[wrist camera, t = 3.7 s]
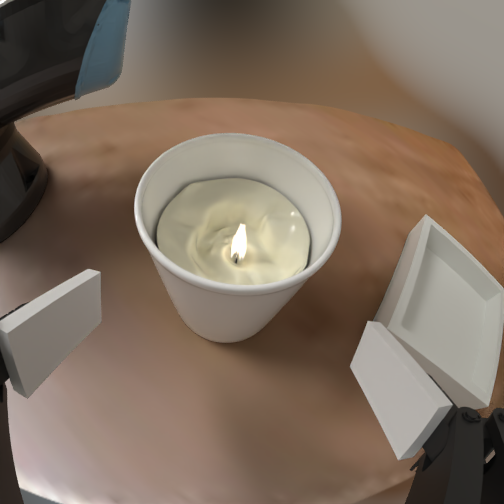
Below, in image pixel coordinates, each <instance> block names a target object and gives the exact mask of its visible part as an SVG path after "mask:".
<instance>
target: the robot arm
mask: <svg viewBox="0 0 504 504" xmlns="http://www.w3.org/2000/svg"><path fill="white" fill-rule="evenodd" d="M130 5H131V0H0V242H1V241H3V240H5V239H6V238H7V237H9V236H10V235H11V234H12V233H13V232H14V231H16V230H17V229H18V228H19V227H20V226H21V225H22V224H23V222H24V221H25V220H26V219H27V218H28V217H29V215H30V214H31V213H32V211H33V210H34V209H35V207H36V205H37V204H38V202H39V200H40V199H41V197H42V195H43V192H44V190H45V187H46V184H47V179H48V173H47V169H46V167H45V164H44V162H43V160H42V157H41V156H40V154H39V153H38V152H37V151H36V150H35V149H34V148H33V147H32V146H31V145H30V144H29V143H28V142H27V140H26V139H25V138H24V137H23V136H22V135H21V134H20V133H19V132H18V131H17V129H16V127H15V124H14V121H16V120H18V119H21V118H23V117H26V116H28V115H30V114H33V113H35V112H38V111H40V110H42V109H45V108H48V107H51V106H54V105H57V104H60V103H63V102H65V101H69V100H72V99H75V100H77V99H79V98H80V97H81V96H83V95H86V94H89V93H92V92H95V91H98V90H101V89H105V88H108V87H110V86H111V85H112V84H114V83H115V82H116V81H117V79H118V78H119V77H120V75H121V72H122V67H123V58H124V49H125V40H126V32H127V25H128V18H129V11H130ZM101 322H102V321H101V272H99V271H95V270H92V269H87V270H85V271H83V272H81V273H80V274H78V275H76V276H74V277H72V278H71V279H69V280H67V281H65V282H63V283H62V284H60V285H58V286H56V287H55V288H53V289H51V290H50V291H48V292H46V293H44V294H43V295H41V296H39V297H38V298H36V299H34V300H33V301H31V302H28V303H25V304H22V305H20V306H19V307H17V308H16V309H15V310H12V311H11V312H9V313H8V314H6V315H4V316H3V317H1V318H0V504H24V503H23V500H22V496H21V493H20V488H19V484H18V480H17V476H16V471H15V466H14V461H13V455H12V449H11V442H10V434H9V423H8V408H7V388H6V385H5V381H6V380H8V379H9V378H10V381H11V384H12V386H13V389H14V390H15V391H16V392H18V393H19V394H21V395H22V396H24V397H26V398H27V399H28V398H29V397H30V396H31V395H32V394H33V392H34V391H35V390H36V389H37V388H38V387H39V386H40V385H41V384H42V383H43V381H44V380H45V379H46V378H47V377H48V376H49V375H50V374H51V373H52V372H53V371H54V370H55V369H56V368H57V367H58V365H59V364H60V363H61V362H62V361H63V360H64V359H65V358H66V357H67V356H68V355H69V354H70V353H71V352H72V351H73V350H74V349H75V348H76V347H77V346H78V345H79V344H80V343H81V342H82V341H83V340H84V339H85V338H86V337H87V336H88V335H89V334H90V333H91V332H92V331H93V330H94V329H95V328H96V327H97V326H98V325H99V324H100V323H101ZM350 368H351V370H352V371H353V373H354V375H355V377H356V379H357V381H358V383H359V385H360V386H361V388H362V390H363V392H364V394H365V396H366V398H367V400H368V402H369V403H370V405H371V407H372V409H373V411H374V413H375V415H376V417H377V419H378V421H379V423H380V425H381V427H382V429H383V431H384V433H385V435H386V437H387V439H388V440H389V442H390V444H391V446H392V449H393V451H394V453H395V455H396V457H397V459H398V460H402V459H407V458H411V457H414V456H415V454H416V453H417V452H418V451H419V450H420V449H421V447H423V448H424V450H425V453H424V454H423V455H422V456H421V457H420V458H419V460H418V461H417V462H416V463H415V464H414V465H413V466H412V467H411V469H410V470H411V471H412V470H413V469H414V468H415V467H417V466H418V468H417V470H416V471H415V472H416V474H415V478H414V480H413V483H412V486H411V489H410V492H409V494H408V497H407V500H406V502H405V504H504V409H502V408H496V409H494V410H493V412H492V413H491V415H490V416H489V418H481V416H480V414H479V413H478V412H477V411H475V410H474V409H472V408H470V407H460V408H458V407H457V406H456V404H455V403H454V402H453V401H452V400H451V399H450V397H449V396H448V395H447V394H446V393H445V391H444V390H442V388H441V387H440V386H439V384H438V385H437V382H436V381H435V380H434V379H433V378H432V376H430V375H429V374H427V373H426V372H425V371H424V370H423V369H422V368H421V367H420V365H419V364H418V363H417V362H416V361H415V360H414V359H413V357H412V356H411V355H410V354H409V353H408V352H407V351H406V350H405V349H404V347H403V346H402V345H401V344H400V343H399V342H398V341H397V340H396V339H395V338H394V337H393V335H392V334H391V333H390V332H389V331H388V330H387V329H386V328H385V327H384V326H383V325H382V324H381V323H380V322H373V321H368V322H367V324H366V327H365V330H364V332H363V335H362V338H361V340H360V343H359V345H358V348H357V350H356V353H355V355H354V358H353V360H352V362H351V365H350ZM493 450H494V451H495V455H494V457H493V458H492V459H491V460H490V461H489V462H488V463H486V461H485V459H486V458H487V457H488V455H489V454H490V453H491V452H492V451H493Z"/></svg>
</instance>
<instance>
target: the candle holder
mask: <svg viewBox="0 0 504 504" xmlns="http://www.w3.org/2000/svg"><path fill="white" fill-rule="evenodd" d="M134 214H135V221H136V225H137V229H138V232H139V234H140V237H141V239H142V241H143V243H144V244H145V246H146V248H147V249H148V251H149V253H150V256H151V258H152V260H153V262H154V265H155V267H156V269H157V271H158V273H159V276H160V278H161V280H162V282H163V284H164V286H165V288H166V290H167V293H168V295H169V297H170V299H171V301H172V303H173V305H174V307H175V309H176V310H177V312H178V314H179V316H180V317H181V319H182V320H183V322H184V323H185V324H186V325H187V326H188V327H189V328H190V329H191V330H192V331H193V332H195V333H196V334H197V335H199V336H201V337H203V338H205V339H208V340H211V341H215V342H221V343H232V342H238V341H242V340H245V339H247V338H250V337H251V336H253V335H255V334H256V333H258V332H259V331H260V330H262V329H263V328H264V327H265V326H266V325H267V324H268V323H269V322H270V321H271V320H272V319H273V318H274V317H275V316H276V315H277V313H278V312H279V311H280V310H281V309H282V308H283V307H284V306H285V305H286V304H287V303H288V302H289V300H290V299H291V298H292V297H293V296H294V295H295V294H296V293H297V292H298V291H299V289H300V288H301V287H302V286H303V285H304V284H305V283H306V282H307V280H308V279H309V278H310V277H311V276H312V275H313V274H314V273H316V272H317V271H318V270H319V269H320V268H321V267H322V266H323V265H324V264H325V263H326V261H327V260H328V259H329V257H330V256H331V254H332V253H333V251H334V249H335V247H336V245H337V242H338V240H339V236H340V232H341V224H342V217H341V209H340V204H339V201H338V198H337V195H336V193H335V191H334V189H333V187H332V185H331V184H330V182H329V181H328V179H327V178H326V176H325V175H324V174H323V173H322V172H321V171H320V170H319V168H318V167H316V166H315V165H314V164H313V163H312V162H311V161H310V160H308V159H307V158H306V157H304V156H303V155H302V154H300V153H298V152H297V151H295V150H293V149H292V148H290V147H288V146H286V145H283V144H281V143H279V142H276V141H273V140H270V139H267V138H263V137H259V136H254V135H248V134H239V133H220V134H211V135H205V136H201V137H197V138H193V139H190V140H187V141H185V142H182V143H180V144H178V145H176V146H174V147H172V148H171V149H169V150H167V151H166V152H165V153H163V154H162V155H161V156H159V157H158V158H157V159H156V160H155V161H154V162H153V163H152V164H151V165H150V166H149V168H148V169H147V170H146V172H145V173H144V175H143V177H142V178H141V180H140V183H139V185H138V188H137V191H136V195H135V201H134Z"/></svg>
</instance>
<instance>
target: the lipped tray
mask: <svg viewBox="0 0 504 504" xmlns="http://www.w3.org/2000/svg"><path fill="white" fill-rule="evenodd" d="M373 322H380V323H381V324H382V325H383V326H384V327H385V328H386V329H387V330H388V331H389V332H390V333H391V334H392V335H393V337H394V338H395V339H396V340H397V341H398V342H399V343H400V344H401V345H402V346H403V347H404V349H405V350H406V351H407V352H408V353H409V354H410V355H411V356H412V357H413V359H414V360H415V361H416V362H417V363H418V364H419V365H420V367H421V368H422V369H423V370H424V371H425V372H426V373H427V374H429V375H430V376H432V378H433V379H434V380H435V381H436V382H437V385H438V384H439V386H440V387H441V388H442V390H444V391H445V393H446V394H447V395H448V396H449V397H450V399H451V400H452V401H453V402H454V403H455V404H456V406H457V407H458V408H460V407H470V408H472V409H474V410H476V409H480V408H485V407H488V406H489V403H490V399H491V395H492V391H493V387H494V382H495V378H496V373H497V368H498V362H499V356H500V349H501V342H502V334H503V323H504V288H503V287H502V286H501V285H500V284H499V283H498V281H497V280H496V279H495V278H494V277H493V276H492V275H491V274H490V273H489V272H488V271H487V270H486V269H485V268H484V267H483V266H482V265H481V264H480V263H479V262H478V261H477V260H476V259H475V258H474V257H473V256H472V255H471V254H470V253H469V252H468V251H467V250H466V249H465V248H464V247H463V246H462V245H461V244H460V243H459V242H458V241H456V240H455V239H454V238H453V237H452V236H451V235H450V234H449V233H448V232H446V231H445V230H444V229H443V228H442V227H441V226H439V225H438V224H437V223H436V222H435V221H434V220H432V219H431V218H430V217H429V216H428V215H425V216H424V217H423V218H422V219H421V220H420V221H419V223H418V224H417V225H416V226H415V227H414V228H413V229H412V230H411V232H410V233H409V234H408V236H407V239H406V242H405V245H404V248H403V251H402V253H401V256H400V259H399V261H398V264H397V266H396V269H395V271H394V274H393V276H392V279H391V281H390V284H389V286H388V288H387V291H386V293H385V295H384V298H383V300H382V302H381V304H380V307H379V309H378V311H377V313H376V315H375V317H374V319H373Z"/></svg>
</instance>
